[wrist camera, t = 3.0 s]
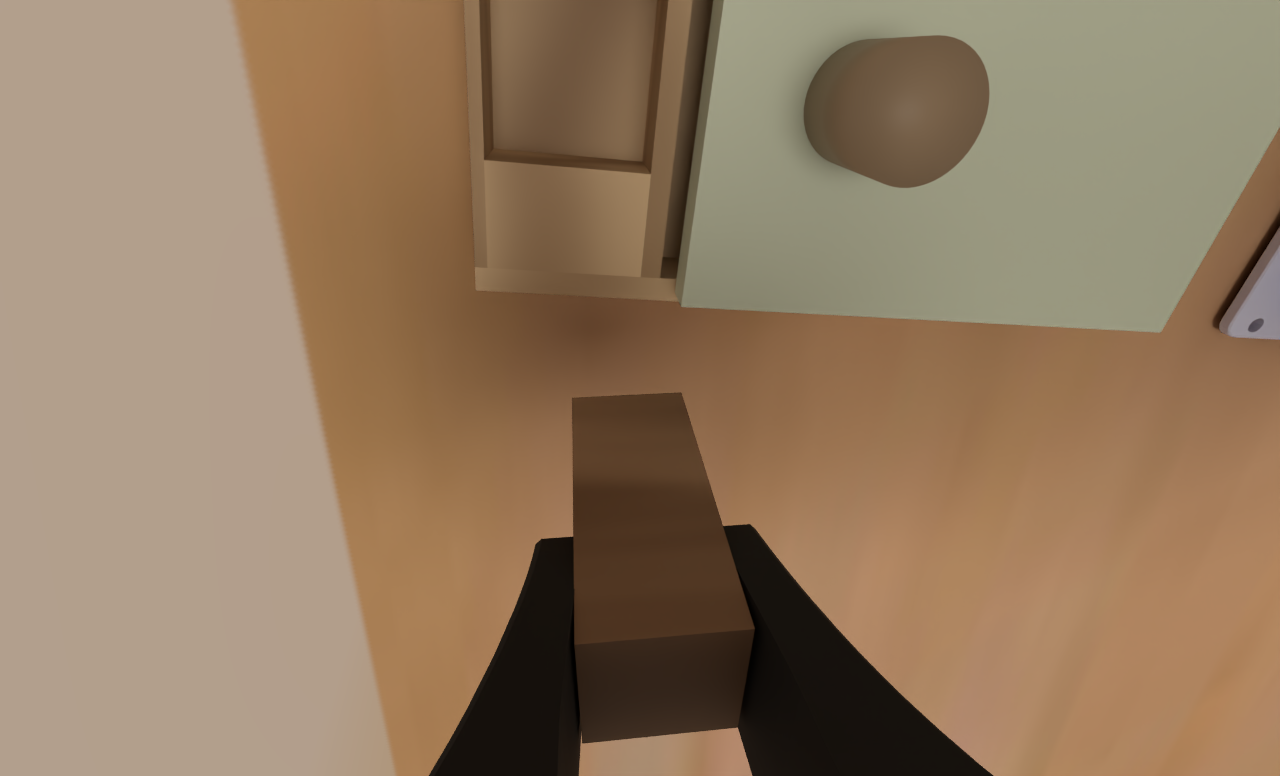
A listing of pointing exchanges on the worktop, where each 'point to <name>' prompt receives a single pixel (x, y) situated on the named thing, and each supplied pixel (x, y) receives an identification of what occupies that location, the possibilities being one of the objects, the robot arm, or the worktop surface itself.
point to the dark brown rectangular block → (651, 576)
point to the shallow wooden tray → (582, 142)
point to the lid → (973, 156)
